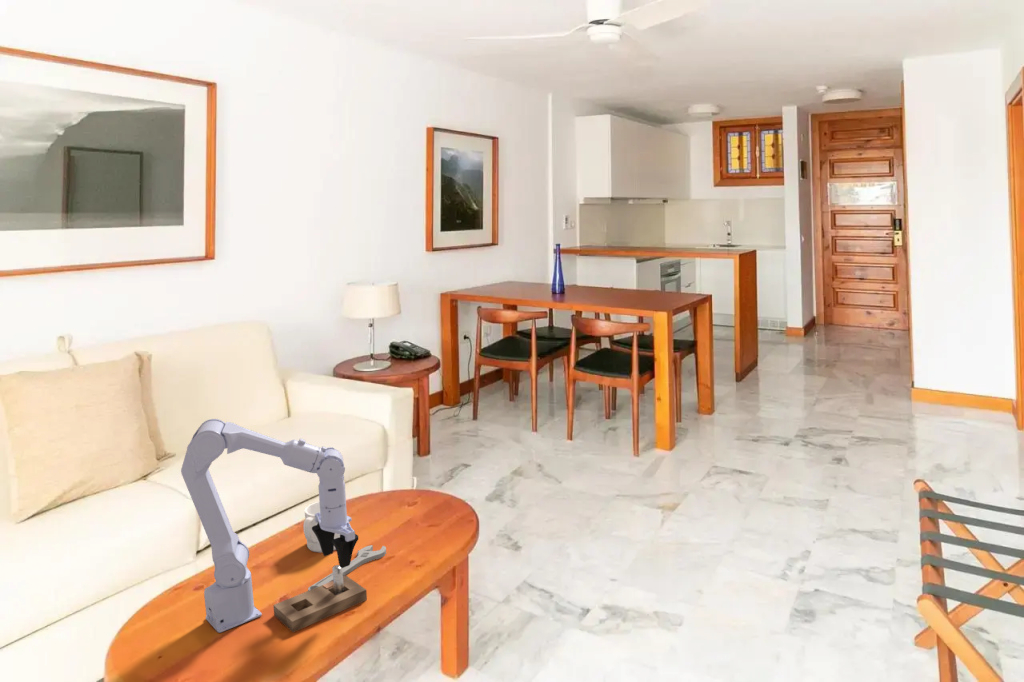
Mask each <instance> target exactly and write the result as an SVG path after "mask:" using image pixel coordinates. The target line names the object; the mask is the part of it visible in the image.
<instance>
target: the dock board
mask: <svg viewBox="0 0 1024 682" xmlns="http://www.w3.org/2000/svg"><path fill="white" fill-rule="evenodd" d="M343 585H344V592H343V593H341V594H338V595H336V596H335V595H334V585H333V581H331V582H329V583H326V584H324V585H321V586H319V587H317V588H314V589H312V590H309V591H308V590H307V591H304V592H302V593H300V594H297V595H295V596H293V597H289V598H287V599H284V600H283V601H280V602H277V603H275V604H273V615H274V617H275V618H276V619H278V621H280V622H281V623H282V624H283V625H284V626H285V627H286V628H287V629H289V630H290V631H291V632H292V633H295V632H297V631H299V630H302V629H304V628H306V627H308V626H310V625H313V624H315V623H318V622H320V621H322V620H324V619H327V618H329V617H332V616H333V615H336V614H338V613H340V612H343V611H345V610H347V609H349V608H351V607H355V606H357V605H358V604H361V603H363V602H365V601H367V599H368V596H367V595H368V593H367V589H366V588H365V587H363V586H362V585H360V584H359V583H358V582H357V581H355V580H353V579H352V578H350V577H349V576H348V575H345V576H344V577H343Z"/></svg>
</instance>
